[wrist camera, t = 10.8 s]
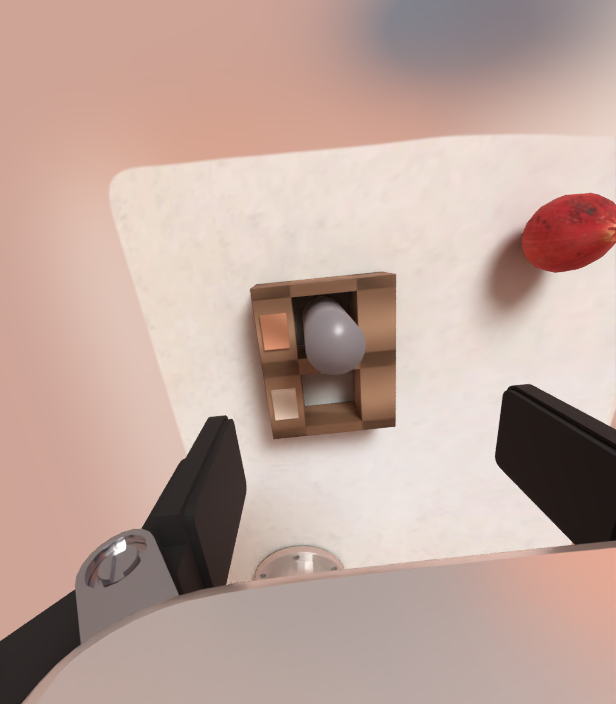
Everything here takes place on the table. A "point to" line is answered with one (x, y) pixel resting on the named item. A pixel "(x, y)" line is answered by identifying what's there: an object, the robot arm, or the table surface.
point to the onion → (570, 232)
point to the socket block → (291, 362)
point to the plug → (331, 337)
